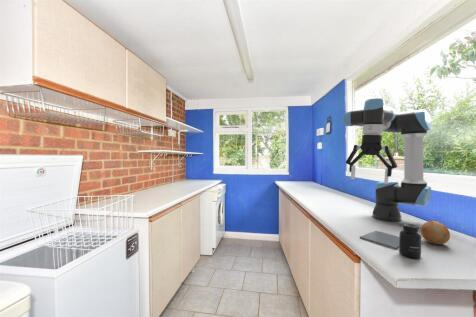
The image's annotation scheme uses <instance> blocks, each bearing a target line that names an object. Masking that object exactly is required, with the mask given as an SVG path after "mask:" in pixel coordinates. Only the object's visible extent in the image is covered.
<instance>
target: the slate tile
mask: <svg viewBox="0 0 476 317" xmlns="http://www.w3.org/2000/svg"><path fill="white" fill-rule="evenodd" d="M359 239H362V240H364V241H367V242H372V243H374V244H378V245H380V246H384V247H387V248H391V249H393V250H399V236H398V235H394V234H390V233H387V232H382V231H379V230H374V231H370V232H368V233H366V234H363V235H361V236H359Z"/></svg>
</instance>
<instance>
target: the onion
mask: <svg viewBox="0 0 476 317" xmlns="http://www.w3.org/2000/svg"><path fill="white" fill-rule="evenodd" d="M450 233H451V232H450V230H449V228H448V227H447V226H446V225H444V224H443V223H442V222H440V221H437V220H430V221H426V222H424V223H423V224H422V226H420V235H421V237H422V238H424V240H425V241H427V242H429V244H433V245H443V244H444V245H445V244H446V243H448V241H449V240H450V238H451V234H450Z"/></svg>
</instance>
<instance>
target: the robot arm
mask: <svg viewBox="0 0 476 317" xmlns="http://www.w3.org/2000/svg"><path fill="white" fill-rule="evenodd" d="M342 124H343V125H344V126H345V127H353V126H354V127H355V126H356V127H362V136H361V144H360V145H359V144H354V145H353V150H352V151H351V152H350V154H349V156H348V158H347V159H346V160H345V164H346V165H349V169H348V170H349V173H350V180H355V179H356V165H355V164H356V163H358V161H359V160H360V159H361V158H363V157H364V156H376V157H377V158H378V159H379V160H380V161H381V163H382V164H383V165H384V166H385V170H384V180H383V181H378V182H376V183H375V206H374V208H373V211H372V212H371V213H372V218H375V219H376V220H381V221H385V222H386V221H388V222H400V221H402V215H401V211H400V208H399V204H404V205H409V206H410V205H411V206H415V207H417V206H418V207H425V206H427V205H428V204H429V202H430V200H431V197H432V187H431V186H430V185H428V182H427V181H426V180H424V179H425V178H424V137H425V136H427V134H428V131H430V130H431V129H432V120H431V116H430V113H429V112H428V110H426V109H418V110H417V109H416V110H408V111H401V112H396V110H395V109H394V108H393V107H391V106H388V105H386V104H385V99H384V98H378V97H377V98H370V99H369V98H368V99H366V100H365V102H364V105H363V109H358V110H352V111H347V112H345V113H343V115H342ZM383 132H386V133H395V134H396V133H400V136H402V138H403V140H404V141H403V142H404V143H403V146H404V147H403V149H404V150H403V154H404V155H403V156H404V157H403V158H404V159H403V161H404V162H403V163H404V164H403V165H404V166H403V167H404V168H403V169H404V171H403V173H404V177H403V179H402V180H401V181H400V183H399V181H398V180H389V177H392V172H393V169H396V168H398V164H397V162H396V160H395V159H394V156H393V155H392V152H391V149H390V148H391V147H390V145H385V146H382V137H383V136H382V135H381V134H383ZM358 150H361V151H360V152H359V154H357V152H358ZM382 150H383V151H384V152H385V154H386V156H387V159H388V160H389V161H388V160H387V159H386V157H384V155H383V154H382V152H381V151H382ZM356 154H357V156H355V155H356ZM389 162H390V163H389Z"/></svg>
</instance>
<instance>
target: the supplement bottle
mask: <svg viewBox="0 0 476 317" xmlns="http://www.w3.org/2000/svg"><path fill="white" fill-rule="evenodd" d="M398 237H399V248H398V252H399V254H400V255H401V256H403V257H405V258H408V259H412V260H420V259H421V257H422V234H421V233H419V226H418V225H417V224H412V223H403V224H402V230H400V231H399V236H398Z"/></svg>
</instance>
